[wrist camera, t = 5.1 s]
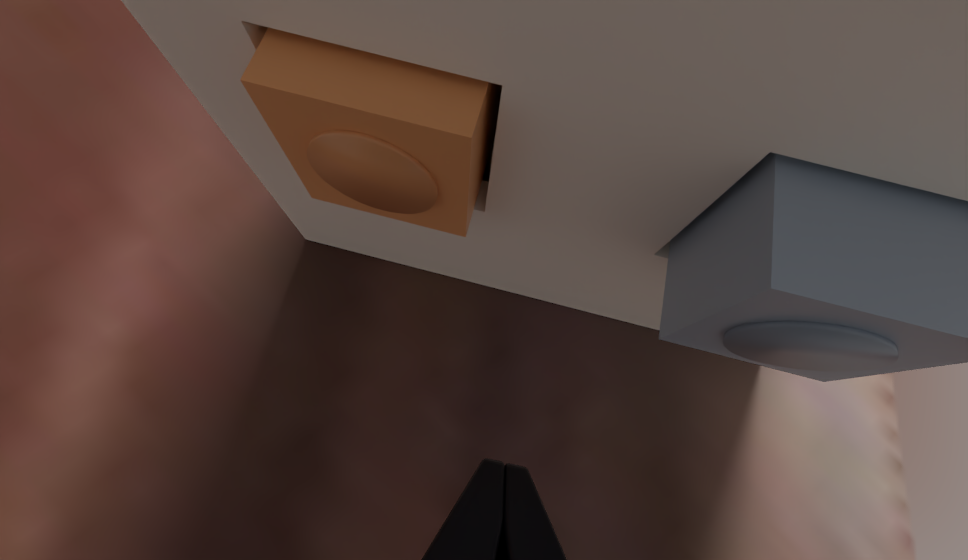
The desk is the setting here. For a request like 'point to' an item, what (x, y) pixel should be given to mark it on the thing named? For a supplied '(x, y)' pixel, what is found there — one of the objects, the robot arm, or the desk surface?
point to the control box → (607, 118)
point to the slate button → (822, 274)
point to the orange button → (376, 128)
